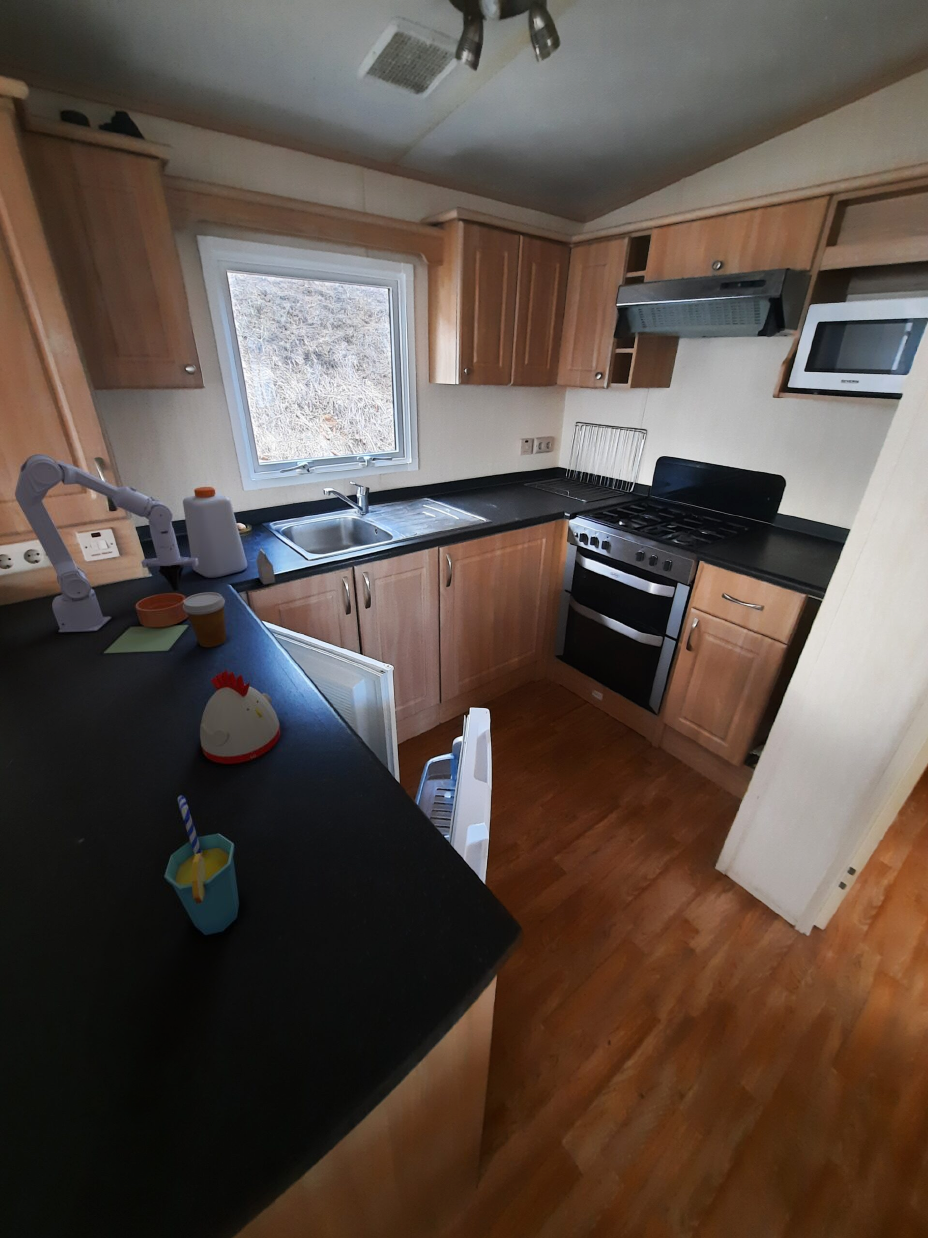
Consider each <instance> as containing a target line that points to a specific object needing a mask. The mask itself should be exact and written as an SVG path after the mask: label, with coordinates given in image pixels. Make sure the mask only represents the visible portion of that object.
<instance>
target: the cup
mask: <svg viewBox="0 0 928 1238" xmlns="http://www.w3.org/2000/svg"><path fill="white" fill-rule="evenodd" d="M177 803H178V808H179V811H180V813H181V816H182V819H183V822H184V827H185V829H186V832H187V835H188V839H189V840H188V842H186V843H185V844H184V845H182V846H181V847H179V849H177V850H176V851H174V852H173V853H172V854H171V855H170V857H169V861H168V864H167V867H166V869H165V873H164V876H163V877H164V879H165V880H166V882H168V883H169V884H170V885H171V886H172V887H173V888H174V889H173V890H174V891H175V892H176V894H177V896H178V898H179V899H180V901H181V903H182V905H183V907H184V908H185V910H186V912H187V914H188V917H189V918H190V919H191V922H192V923H193V925H194V927H195V929H197V930H199V931H200V932H201V933H202V934H203V935H205V936H208V935H212V934H218V933H221V932H222V933H223V932H224V931H225V930H226V929H227V928H228V927H229V926H230V925H231V924H232V923H234V921H235V920H236V919H237V918H238V914H239V913H238V912H239V906H240V900H239V891H238V885H237V877H236V869H235V862H234V854H235V844H234V842H232V841H231V840H229V839H228V838H226V837H225V836H223V835H222V834H220V833H214V834H208V835H204V836H198V835H197V831H196V828H195V825H194V822H193V819H192V816H191V815H192V814H191V813H190V808H189V806H188V803H187V800H186V797H185V796H184V795H179V796H178V797H177Z"/></svg>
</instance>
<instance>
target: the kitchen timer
mask: <svg viewBox="0 0 928 1238" xmlns="http://www.w3.org/2000/svg"><path fill="white" fill-rule="evenodd" d="M210 682H211V683H212V685H213V687H214V688H215V690H216V691H215V692H214V693H213V694H212V696H211V697H210V698H209V699H208V701H207V703H206V706H205V708H204V710H203V712H202V716H201V722H200V725H199V726H200V729H199V738H200V745H201V750H202V753H203V755H204V756H205V757H206V758H207V759H208V760H210V761H212V762H214V763H219V764H223V765H224V764H225V765H227V764H228V765H229V764H239V763H244V762H248V761H252V760H253V759H256V758H258V757H260V756H262V755H264V754H265V753H267V752H268V751H270V750H271V749H272V748H273V747H274V746H275V745H276V744H277V742H278V741H279V739H280V737H281V732H282V731H281V724H280V721H279V718H278V715H277V713H276V711H275V709H274V708H273V706H272V698H271V697H270V696H269V694H268V693H266V692H262V693H261V692H259V690H257V689H256V688H254V687H252V686H250V685H251V683H250V681H249V682H247V683H246V684H245V682H244V678H243V675H242V674H239V675H238V676H237V677H236V676H235V673H234V671H231V672H230V673H228V671H227V669H225V670H223V671H222V672H221V673H218V674H217V675H215V676H214V677H213V678H211V679H210Z"/></svg>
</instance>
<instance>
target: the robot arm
mask: <svg viewBox="0 0 928 1238" xmlns="http://www.w3.org/2000/svg"><path fill="white" fill-rule="evenodd" d="M60 483H62V485H66V486H67V485H79V486H81V487H84V488H86V489H89V490H90V491H93V492H96V493H98V494H100V495H103V496H105V497H108V498H110V499H112V503H113V504H114V506H116V507H117V508H119V509H122V510H124V511H126V512H129V513H131V514H134V515H136V516H137V517H140V518H146V520H148V526H149V533H150V537H151V540H152V543H153V547H154V551H155V555H156V557H154V558H153V557H152V558H144V559H142V560H141V565H142V569H146V568H150V567H151V568H152V567H159V569H158V572H159V574H161V576H163V578H165V579H166V581H167V582H168V584H169V585H170V587H171V589H172V590H173V591H174V592H175V591H176V592H177V591H179V590H180V589H181V588H182V585H181V584H182V576H183V575H182V574H183V571H184V567H187V566H188V567H193V566H197V565H198V564H199V563H198V559H197V558H191V557H187V556H181V553H180V549H179V547H178V541H177V537H176V533H175V529H174V527H173V522H172V520H173V517H174V516H173V513H172V511H171V510H170V508H169V507H168V506H167V505H165V504H164V503H163V502H161V501H160V500H158V499H156V498H155V497H153V496H150V497H149V496H148V495H145V494H143V493H141V492H139V491H137V490H138V489H137V488H135V487H134V486H131V485H130V487H128V486H126V485H124V486H118V487H117V486H115V485H113V484H111V483H109V482H107V481H105V480H103V479H101V478H100V477H99V478H98V477H97V476H95V475H93V474H92V473H89V472H87V471H85V470H83V469H81V468H79V467H77V466H75V465H72V464H69V463H67V462H64V461H62V460H59V459H56V460H55V459H54V458H53V457H51V456H49V455H46V454H42V453H37V454H33V455H30V456H29V457H28V458H26V460H24V462H23V464H22V465H21V466H20V470H19V473H18V478H17V482H16V487H15V491H14V497H15V500H16V502H17V503H18V506H19V507H20V509H21V511H22V513H23V514H24V517H25V518H26V520H27V522H28V524H29V525H30V527H31V529H32V530H33V532H34V534H35V535H36V536H35V537H36V538H37V540H38V541H39V543H40V545H41V547H42V549H43V550H44V552H45V554H46V556H47V559H48V560H49V562H50V564H51V565H52V567H53V569H54V571H55V573H56V580H57V583H58V584H59V587H60V592H61V595H57V596H55V597H54V598H53V600H52V604H51V607H52V608H51V609H52V612H53V614H54V617H55V620H56V622H57V626H58V627H59V628H58V629H59V630H58V633H80V632H83V633H84V632H97V631H98V630H99V629H101V628H102V627H103V626H104V625H105V624H107V623H108V622H109V621H110V620H111V619H112V616H104V615H103V613H102V610H101V607H100V604H99V601H98V598H97V596H96V595H97V594H96V592H95V590H94V589H93V588H92V585H91V582H90V581H89V579H88V577H87V574H86V572H85V571H84V570H83V569H81V568H80V567H79V566H78V565H77V564H76V562H75V560H74V558H73V557H72V555H71V553H70V551H69V549H68V547H67V545H66V543H65V541H64V540H63V537H62V535H61V534H60V532H59V530H58V528H57V526H56V524H55V522H54V521H53V518H52V516H51V515H50V513H49V511H48V509H47V507H46V505H45V503H44V502H43V500H44V498H45V497H46V495H47V494H48V493H49V491H50V490H51V489H53V488H55V487H56V486H58V484H60Z"/></svg>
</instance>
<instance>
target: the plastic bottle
mask: <svg viewBox="0 0 928 1238" xmlns="http://www.w3.org/2000/svg"><path fill="white" fill-rule="evenodd" d="M193 492H194V495H190V496H186V497H185V498H183V499H182V507H183V513H184V520H185V527H186V533H187V540H188V546H189V552H190V558H197V559H198V563H199V564H198V565H197V566H192V570H193V571H195V572H196V573H198V574H199V575H202V576H203V577H204V578H209V579H216V578H221V577H225V576H229V575H231V574H232V575H233V574H236V573H239V572H242V571H244V570H246V569H247V567H248V562H247V558H246V555H245V550H244V547H243V543H242V538H241V535H240V530H239V527H238V523H237V519H236V515H235V512H234V508H233V504H232V501H231V499H230V498H229V497H227V496H225V495H222V494H219V493H216V488H214V487H212V486H199V487H196V488H194V490H193Z"/></svg>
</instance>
